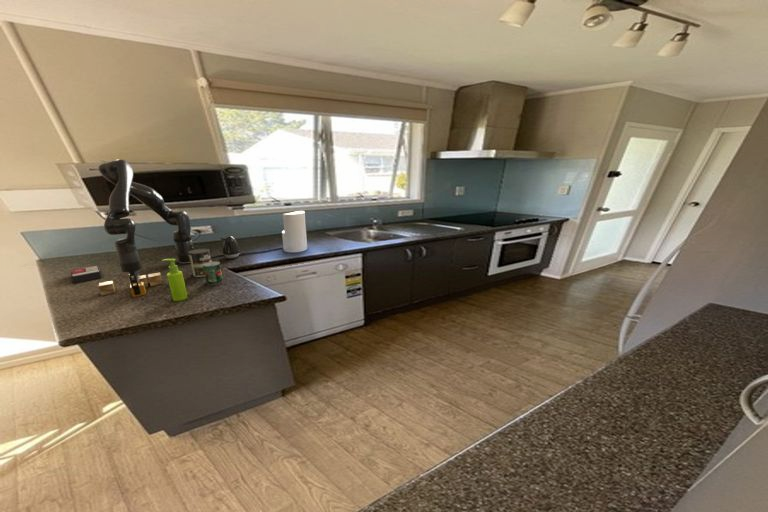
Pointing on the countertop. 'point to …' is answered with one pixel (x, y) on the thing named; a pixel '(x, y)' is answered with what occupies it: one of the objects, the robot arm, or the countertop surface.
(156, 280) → the maple block
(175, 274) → the soap dispenser
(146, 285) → the maple block middle
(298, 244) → the cylinder
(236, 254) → the dark ribbed dome
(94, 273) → the red and grey box
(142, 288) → the mustard block
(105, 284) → the maple block
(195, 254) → the coffee can
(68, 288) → the countertop surface
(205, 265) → the canned tomato
